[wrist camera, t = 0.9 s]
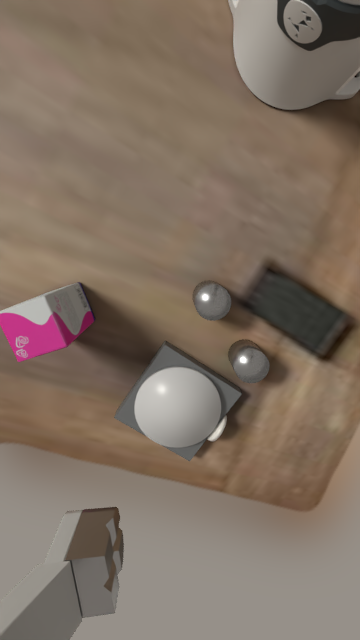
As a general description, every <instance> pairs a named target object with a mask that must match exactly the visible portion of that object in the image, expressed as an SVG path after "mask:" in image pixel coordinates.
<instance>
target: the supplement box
mask: <svg viewBox="0 0 360 640" xmlns="http://www.w3.org/2000/svg"><path fill="white" fill-rule="evenodd" d="M94 321H95V318H94V315H93V312H92V310H91V307H90V305H89V302H88V300H87V298H86V295H85V293H84V290H83V288H82V286H81V283H80V282H78V283H75V284H71V285H68V286H65V287H62V288H59V289H56V290H53V291H51V292H48V293H45V294H42V295H40V296H37V297H35V298H32V299H30V300H27V301H24V302H22V303H19V304H17V305H14V306H12V307H9V308H6V309H4V310H1V311H0V325H1V327H2V330H3V332H4V334H5V336H6V338H7V340H8V342H9V344H10V346H11V348H12V350H13V352H14V354H15V356H16V358H17V360H18V362H21V361H24V360H27V359H30V358H33V357H36V356H40V355H43V354H46V353H49V352H52V351H56V350H59V349H62V348H65V347H68V346H69V345H70V344H71V343H72V342H73V341H74V340H75V339H76V338H77V337H78V336H79V335H80V334H81V333H82V332H83V331H84V330H85V329H87V328H88V327H89V326H90V325H91V324H92V323H93V322H94Z"/></svg>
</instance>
